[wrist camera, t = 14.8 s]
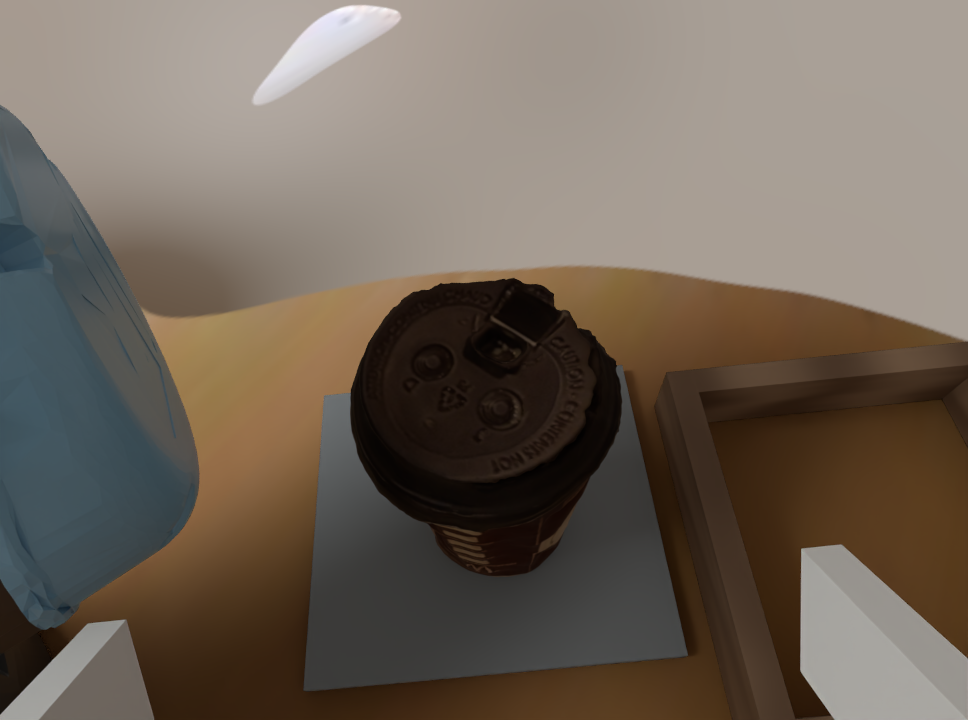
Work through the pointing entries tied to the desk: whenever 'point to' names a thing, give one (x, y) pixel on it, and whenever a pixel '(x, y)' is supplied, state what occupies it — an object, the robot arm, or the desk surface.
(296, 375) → the desk surface
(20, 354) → the robot arm
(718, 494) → the square frame
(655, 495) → the desk surface
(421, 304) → the coffee cup
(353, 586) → the mat
